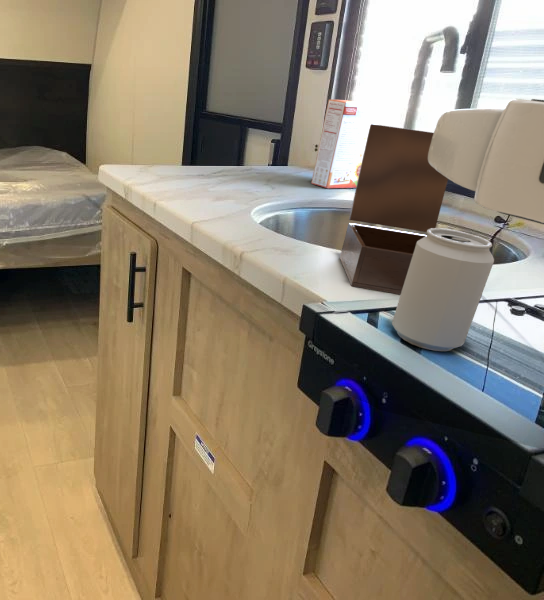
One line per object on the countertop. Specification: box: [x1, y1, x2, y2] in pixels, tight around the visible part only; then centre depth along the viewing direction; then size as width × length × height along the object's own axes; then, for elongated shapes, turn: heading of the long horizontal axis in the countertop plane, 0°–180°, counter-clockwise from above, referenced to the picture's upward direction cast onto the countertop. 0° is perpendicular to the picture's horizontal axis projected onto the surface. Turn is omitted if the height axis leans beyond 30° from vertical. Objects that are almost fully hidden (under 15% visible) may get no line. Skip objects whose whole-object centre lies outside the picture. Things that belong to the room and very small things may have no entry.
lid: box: [348, 124, 449, 233], centre depth 90 cm, size 14×12×5 cm
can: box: [391, 227, 495, 352], centre depth 64 cm, size 8×8×12 cm
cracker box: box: [310, 98, 384, 189], centre depth 150 cm, size 14×6×21 cm, turn 122°
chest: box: [339, 222, 427, 296], centre depth 84 cm, size 13×12×6 cm
